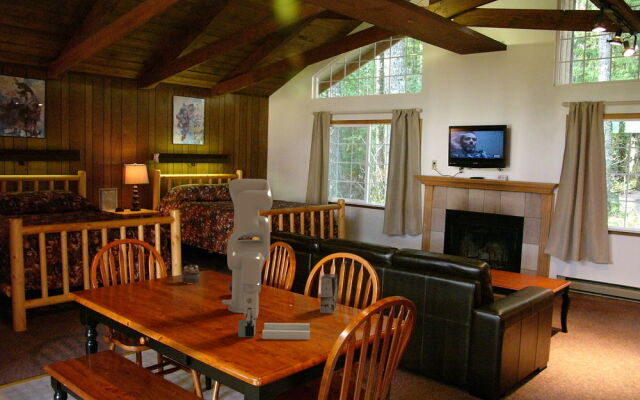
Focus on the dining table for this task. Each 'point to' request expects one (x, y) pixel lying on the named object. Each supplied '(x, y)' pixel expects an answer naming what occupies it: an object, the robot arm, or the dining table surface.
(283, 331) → the trough
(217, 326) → the dining table surface
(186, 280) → the cupcake
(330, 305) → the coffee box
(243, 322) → the block
